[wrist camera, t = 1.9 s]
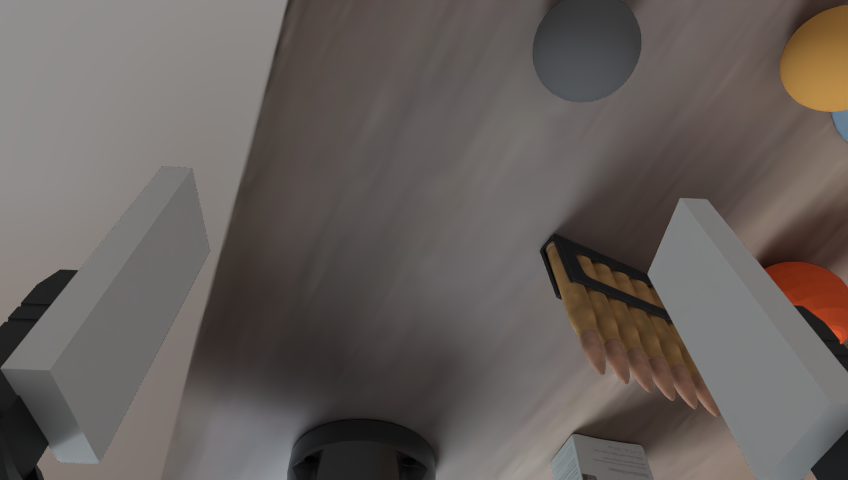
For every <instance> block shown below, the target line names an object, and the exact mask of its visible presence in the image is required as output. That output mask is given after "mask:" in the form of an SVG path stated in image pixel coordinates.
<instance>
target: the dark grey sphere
mask: <svg viewBox="0 0 848 480" xmlns="http://www.w3.org/2000/svg"><path fill="white" fill-rule="evenodd" d="M640 51H641V32H640V28H639V25H638V22H637V19H636V17H635V16H634V14H633V12H632V11H631V10H630V8H629V7H628V6H627V5H626V4H625V3H623V2H622V1H621V0H562V1H561V2H559V3H558V4H557V5H555V6H554V7H553V8H552V9H551V10H550V11H549V12H548V13H547V15H546V16H545V17H544V18H543V20H542V22H541V23H540V25H539V27H538V29H537V32H536V35H535V38H534V42H533V62H534V66H535V69H536V72H537V75H538V77H539V79H540V80H541V82H542V83H543V84H544V85H545V87H546V88H547V89H548V90H549V91H551V92H552V93H553V94H555V95H557V96H558V97H560V98H563V99H565V100H569V101H574V102H590V101H594V100H598V99H601V98H603V97H606V96H608V95H610V94H611V93H613V92H614V91H616V90H617V89H618V88H620V87H621V86H622V85H623V84H624V83H625V82H626V81H627V79H628V78H629V77H630V75H631V74H632V72H633V70H634V68H635V66H636V64H637V62H638V59H639V55H640Z"/></svg>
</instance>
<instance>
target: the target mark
mask: <svg viewBox="0 0 848 480" xmlns="http://www.w3.org/2000/svg"><path fill="white" fill-rule="evenodd" d="M831 117H832V119H833V122H834V125H835V127H836V129H837V130H838V132H839V134H840V135H841V136H842V137H843V139H844V140H845V141H846V142H847V143H848V110H845V111H836V112H831Z"/></svg>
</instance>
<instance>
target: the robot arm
mask: <svg viewBox="0 0 848 480" xmlns="http://www.w3.org/2000/svg"><path fill="white" fill-rule="evenodd" d="M209 251H210V250H209V245H208V240H207V235H206V231H205V226H204V221H203V217H202V212H201V207H200V203H199V198H198V193H197V189H196V184H195V180H194V175H193V170H192V168H180V167H163V166H162V167H161V169H160V170H159V171H158V172H157V173H156V175H155V176H154V178H153V179H152V180H151V181H150V182H149V184H148V185H147V186H146V187H145V188H144V190H143V191H142V192H141V194H140V195H139V196H138V197H137V198H136V200H135V201H134V202H133V203H132V205H131V206H130V207H129V208H128V210H127V211H126V212H125V214H124V215H123V216H122V217H121V218H120V220H119V221H118V222H117V223H116V225H115V226H114V227H113V228H112V230H111V231H110V232H109V233H108V235H107V236H106V237H105V239H104V240H103V241H102V242H101V243H100V245H99V246H98V247H97V248H96V250H95V251H94V252H93V253H92V255H91V256H90V257H89V258H88V259H87V261H86V262H85V263H84V265H83V266H82V267H81V268H80V269H79V270H59V271H57V272H56V273H54V274H53V275H51V276H50V277H48V278H47V279H45V280H44V281H42V282H40V283H39V284H37V285H36V286H35V288H34V289H33V290H32V291H31V292H30V293H29V294H28V296H27V297H26V298H25V299H24V300H23V301H22V302H21V307H17V308H16V309H15V311H14V312H13V313H12V314H11V315H10V316H9V317H8V322H4V323H3V325H1V327H0V480H44V478H43V475H42V472H41V471H40V469H39V468H38V466H37V465H36V464H37V462H38V461H39V459H40V457H41V456H42V454H43V453H44V451H45V449H46V448H47V446H49V447H50V449H51V451H52V452H53V454H54V455H55V457H56V458H57V460H58V462H64V463H95V464H100V462H101V460H102V458H103V457H104V454H105V453H106V451H107V449H108V447H109V445H110V443H111V441H112V439H113V437H114V435H115V433H116V432H117V430H118V428H119V425H120V424H121V422H122V420H123V418H124V416H125V414H126V412H127V410H128V408H129V406H130V404H131V403H132V401H133V399H134V397H135V395H136V393H137V391H138V389H139V387H140V385H141V383H142V381H143V379H144V377H145V375H146V373H147V372H148V369H149V368H150V366H151V364H152V362H153V360H154V358H155V356H156V354H157V352H158V350H159V348H160V346H161V345H162V343H163V341H164V339H165V337H166V335H167V333H168V331H169V329H170V327H171V325H172V323H173V321H174V319H175V317H176V316H177V313H178V312H179V310H180V308H181V306H182V304H183V302H184V300H185V298H186V296H187V294H188V292H189V290H190V288H191V287H192V284H193V283H194V280H195V279H196V277H197V275H198V273H199V271H200V269H201V267H202V265H203V263H204V261H205V259H206V257H207V255H208V254H209ZM647 275H648V277H649V278H650V280H651V282H652V284H653V286H654V288H655V290H656V292H657V294H658V295H659V297H660V299H661V301H662V303H663V305H664V307H665V309H666V311H667V312H668V314H669V316H670V318H671V320H672V322H673V324H674V326H675V327H676V329H677V331H678V333H679V335H680V337H681V339H682V341H683V343H684V344H685V346H686V348H687V350H688V352H689V354H690V356H691V358H692V360H693V361H694V363H695V365H696V367H697V369H698V371H699V373H700V375H701V377H702V378H703V380H704V382H705V384H706V386H707V388H708V390H709V392H710V393H711V395H712V397H713V399H714V401H715V403H716V405H717V407H718V409H719V410H720V412H721V414H722V416H723V418H724V420H725V422H726V424H727V426H728V427H729V429H730V431H731V433H732V435H733V437H734V439H735V441H736V443H737V444H738V446H739V448H740V450H741V452H742V454H743V456H744V458H745V459H746V461H747V463H748V465H749V467H750V469H751V471H752V473H753V475H754V476H755V478H756V480H802V479H803V478H804V477H805V476H806V475H807V474H808V473H809V472H810V471H812V472H813V474H814V475H815V477H816V479H817V480H848V349H847V348H846V347H845V346H844V344H840V340H839V339H838V337H837V336H836V335H835V334H834V333H833V331H832V330H831V329H830V328H829V327H828V326H827V324H826V323H825V322H824V321H822V320H821V319H820V318H818V317H817V316H816V315H814V314H813V313H812V312H810V311H809V310H808V309H806V308H805V307H804V306H796V305H793V304H792V303H791V302H790V301H789V300H788V298H787V297H786V296H785V295H784V293H783V292H782V291H781V290H780V288H779V287H778V286H777V285H776V284H775V282H774V281H773V280H772V279H771V277H770V276H769V275H768V274H767V272H766V271H765V270H764V269H763V267H762V266H761V265H760V264H759V263H758V261H757V260H756V259H755V258H754V256H753V255H752V254H751V253H750V251H749V250H748V249H747V248H746V247H745V245H744V244H743V243H742V242H741V240H740V239H739V238H738V237H737V235H736V234H735V233H734V232H733V231H732V229H731V228H730V227H729V226H728V224H727V223H726V222H725V221H724V219H723V218H722V217H721V216H720V215H719V213H718V212H717V211H716V210H715V208H714V207H713V206H712V205H711V203H710V202H709V201H708V200H707V199H692V198H680V199H679V202H678V204H677V206H676V209H675V211H674V213H673V215H672V218H671V220H670V222H669V225H668V227H667V229H666V232H665V234H664V236H663V239H662V241H661V243H660V246H659V248H658V250H657V253H656V255H655V257H654V260H653V262H652V264H651V267H650V269H649V271H648V274H647ZM287 480H436V473H435V457H434V454H433V451H432V449H431V448H430V446H429V445H428V444H427V443H426V442H425V441H424V440H423V439H422V438H421V437H419V436H418V435H416V434H415V433H413V432H411V431H409V430H407V429H405V428H402V427H400V426H397V425H394V424H390V423H386V422H380V421H373V420H347V421H339V422H334V423H330V424H326V425H323V426H320V427H318V428H316V429H314V430H312V431H310V432H308V433H307V434H305V435H304V436H303V437H301V438H300V439H299V440H298V441H297V443H296V444H295V446H294V447H293V450H292V453H291V457H290V462H289V467H288V473H287Z"/></svg>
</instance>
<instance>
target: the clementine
mask: <svg viewBox="0 0 848 480" xmlns="http://www.w3.org/2000/svg"><path fill="white" fill-rule="evenodd" d="M764 270H765V271H766V272H767V274H768V275H769V276H770V277H771V279H772V280H773V281H774V282H775V284H776V285H777V286H778V287H779V288H780V290H781V291H782V292H783V293H784V295H785V296H786V297H787V298H788V300H789V301H790V302H791V303H792V304H793V305H796V306H804V307H805V308H806V309H808V310H809V311H810V312H812V313H813V314H814V315H816V316H817V317H818V318H820V319H821V320H822V321H824V322H825V323H826V324H827V326H828V327H829V328H830V329H831V330H832V331H833V333H834V334H835V335H836V336H837V337H838V339H839V340H840V344H842V343H843V342H844V341H845V340H846V339H847V338H848V287H847V286H846V285H845V283H844V282H843V281H842V280H841V279H840V278H839V277H838V276H836V275H835V274H833V273H832V272H831V271H829V270H827V269H825V268H823V267H820V266H817V265H814V264H811V263H806V262H782V263H778V264H774V265H772V266H769V267H767V268H765V269H764Z"/></svg>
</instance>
